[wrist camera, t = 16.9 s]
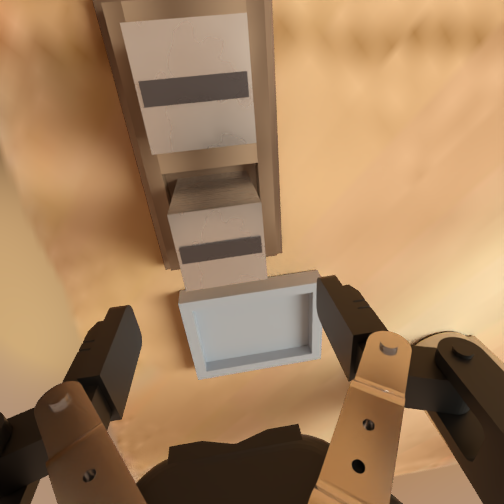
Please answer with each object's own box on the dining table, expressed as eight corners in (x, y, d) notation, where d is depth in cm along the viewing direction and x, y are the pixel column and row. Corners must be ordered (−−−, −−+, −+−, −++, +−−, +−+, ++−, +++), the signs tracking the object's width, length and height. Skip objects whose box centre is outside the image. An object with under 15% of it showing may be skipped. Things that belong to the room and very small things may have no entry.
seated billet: (232, 37, 18) (247, 11, 12) (241, 125, 21) (257, 143, 14) (148, 44, 18) (118, 22, 12) (167, 133, 20) (151, 155, 14)
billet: (245, 170, 22) (261, 203, 16) (252, 231, 25) (267, 280, 18) (177, 178, 22) (166, 216, 15) (190, 239, 24) (186, 292, 18)
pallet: (268, -15, 18) (276, -29, 16) (279, 247, 27) (286, 261, 25) (96, -3, 17) (80, -16, 15) (167, 263, 26) (163, 279, 24)
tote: (316, 269, 29) (324, 281, 27) (314, 344, 33) (320, 358, 32) (179, 290, 28) (178, 304, 26) (198, 364, 32) (198, 379, 31)
